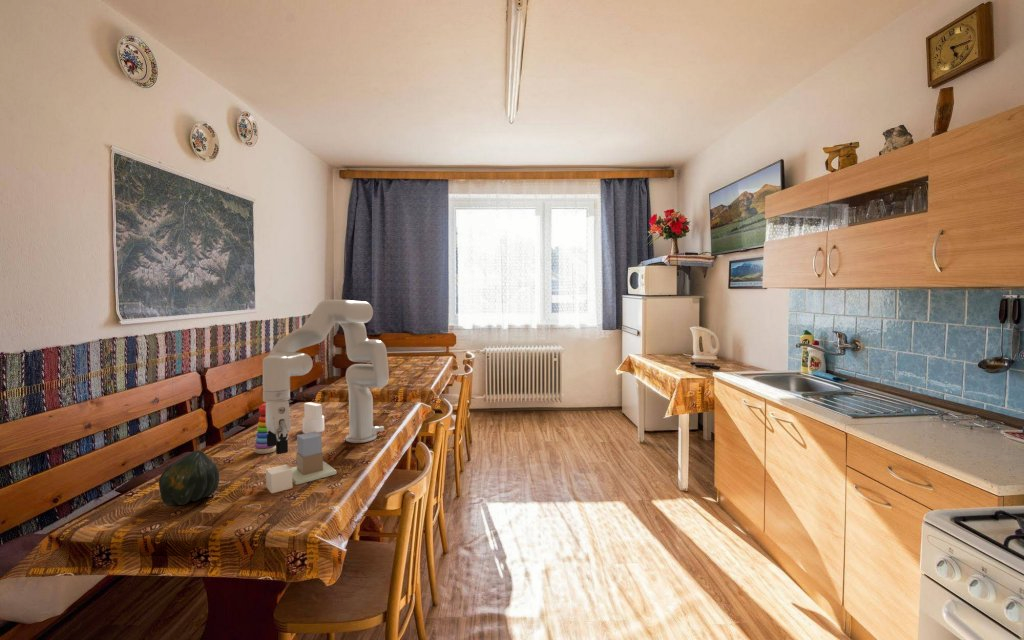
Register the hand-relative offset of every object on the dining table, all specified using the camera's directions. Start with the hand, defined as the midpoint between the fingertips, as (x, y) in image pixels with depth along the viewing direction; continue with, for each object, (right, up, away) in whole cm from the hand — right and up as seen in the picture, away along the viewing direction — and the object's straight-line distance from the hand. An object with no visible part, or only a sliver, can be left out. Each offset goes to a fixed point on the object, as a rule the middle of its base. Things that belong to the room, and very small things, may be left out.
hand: (277, 449), depth 142 cm
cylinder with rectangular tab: (-15, -9, +61) cm, 63 cm away
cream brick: (0, -13, +1) cm, 13 cm away
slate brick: (+5, -5, +12) cm, 14 cm away
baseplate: (+5, -12, +12) cm, 18 cm away
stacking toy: (-22, -11, +34) cm, 42 cm away
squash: (-22, -13, -7) cm, 27 cm away
